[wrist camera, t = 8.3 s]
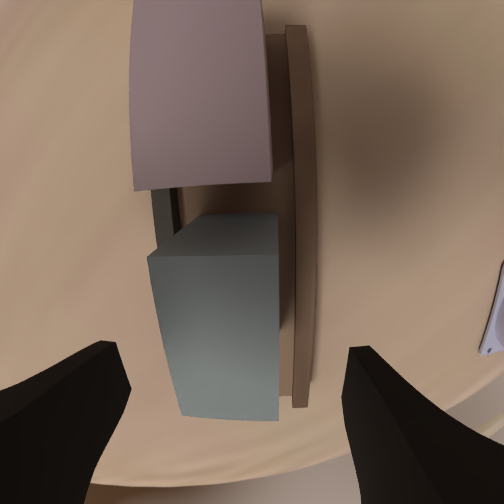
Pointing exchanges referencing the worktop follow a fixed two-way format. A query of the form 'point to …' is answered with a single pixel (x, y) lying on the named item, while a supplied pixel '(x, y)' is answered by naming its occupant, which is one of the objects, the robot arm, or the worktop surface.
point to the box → (199, 94)
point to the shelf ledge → (274, 204)
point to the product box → (221, 315)
